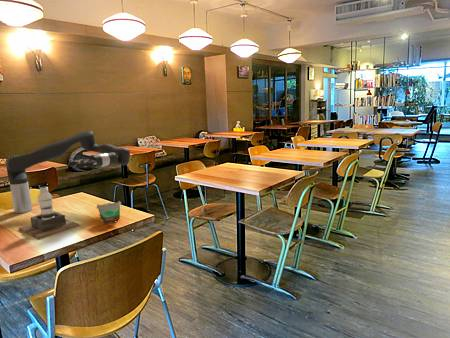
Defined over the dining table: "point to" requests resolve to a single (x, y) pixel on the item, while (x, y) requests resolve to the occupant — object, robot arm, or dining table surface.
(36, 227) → the bottle holder
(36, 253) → the dining table surface
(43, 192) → the plastic bottle
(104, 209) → the food container
